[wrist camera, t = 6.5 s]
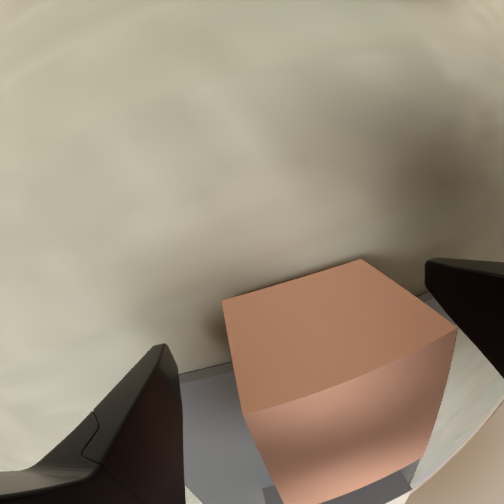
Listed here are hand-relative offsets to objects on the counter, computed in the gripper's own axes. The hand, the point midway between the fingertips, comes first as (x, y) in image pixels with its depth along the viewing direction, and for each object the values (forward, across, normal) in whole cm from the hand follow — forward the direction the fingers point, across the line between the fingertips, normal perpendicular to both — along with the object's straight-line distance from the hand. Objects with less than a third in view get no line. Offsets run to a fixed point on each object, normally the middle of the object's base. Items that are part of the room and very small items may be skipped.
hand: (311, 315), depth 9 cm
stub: (+1, 0, +2) cm, 3 cm away
